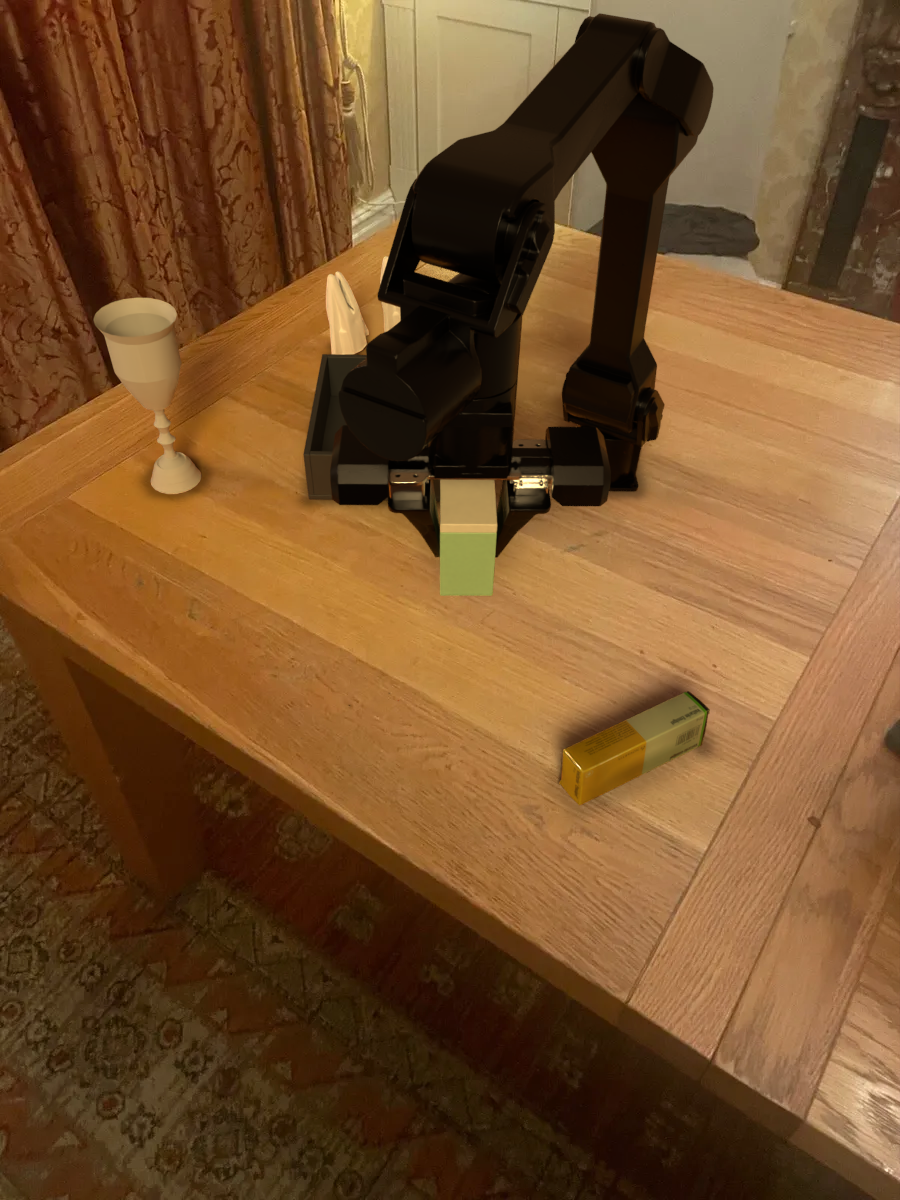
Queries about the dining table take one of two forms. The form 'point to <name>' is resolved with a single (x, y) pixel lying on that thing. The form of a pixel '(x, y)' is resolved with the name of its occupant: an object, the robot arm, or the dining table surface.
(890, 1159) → the dining table surface
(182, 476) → the chalice
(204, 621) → the dining table surface
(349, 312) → the shaker set
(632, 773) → the medication box
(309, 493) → the bin
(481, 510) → the juice carton
